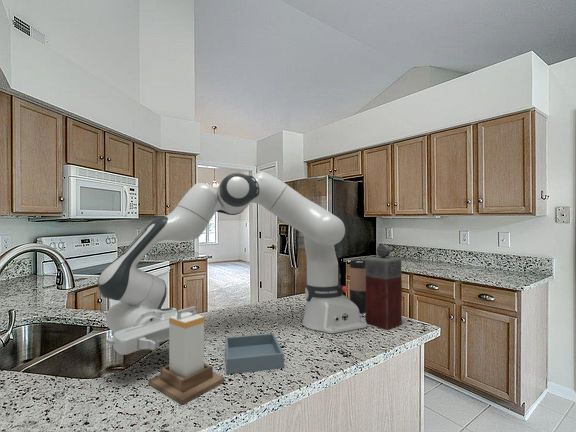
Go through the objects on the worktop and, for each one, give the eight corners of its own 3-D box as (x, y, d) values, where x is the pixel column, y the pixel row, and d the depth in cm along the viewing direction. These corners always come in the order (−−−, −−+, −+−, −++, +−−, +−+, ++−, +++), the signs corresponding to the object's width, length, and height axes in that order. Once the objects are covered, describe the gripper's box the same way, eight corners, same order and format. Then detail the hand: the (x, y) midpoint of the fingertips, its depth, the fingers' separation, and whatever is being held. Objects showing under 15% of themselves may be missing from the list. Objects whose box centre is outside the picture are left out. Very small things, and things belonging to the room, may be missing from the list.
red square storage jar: (405, 323, 110) (405, 244, 110) (387, 330, 103) (387, 246, 103) (383, 316, 117) (383, 243, 117) (365, 323, 110) (365, 244, 110)
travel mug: (372, 310, 125) (372, 261, 126) (363, 314, 120) (363, 263, 120) (355, 306, 131) (355, 259, 131) (346, 310, 125) (346, 261, 125)
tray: (273, 345, 91) (273, 333, 91) (283, 367, 77) (283, 353, 77) (225, 349, 88) (225, 337, 88) (226, 374, 74) (226, 359, 74)
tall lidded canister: (168, 379, 70) (169, 308, 70) (188, 370, 74) (188, 303, 74) (184, 387, 66) (185, 313, 66) (204, 378, 70) (204, 308, 70)
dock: (148, 384, 70) (148, 368, 70) (190, 365, 78) (190, 351, 79) (182, 405, 62) (182, 387, 62) (224, 381, 71) (224, 366, 71)
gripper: (102, 326, 73) (131, 339, 65) (178, 306, 90) (209, 315, 81) (102, 352, 73) (131, 369, 65) (178, 327, 90) (209, 339, 81)
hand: (175, 339), depth 73 cm, fingers open, 8 cm apart
